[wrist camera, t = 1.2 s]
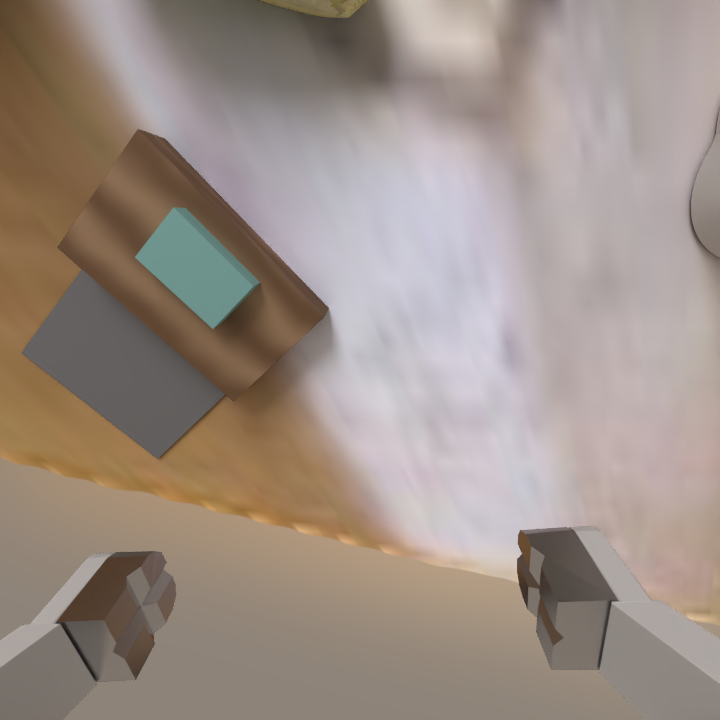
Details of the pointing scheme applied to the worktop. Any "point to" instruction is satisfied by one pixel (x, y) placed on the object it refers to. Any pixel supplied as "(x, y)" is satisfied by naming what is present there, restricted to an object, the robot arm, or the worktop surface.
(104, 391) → the grey mat
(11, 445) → the worktop surface
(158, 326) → the board
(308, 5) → the lettuce
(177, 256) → the teal block
